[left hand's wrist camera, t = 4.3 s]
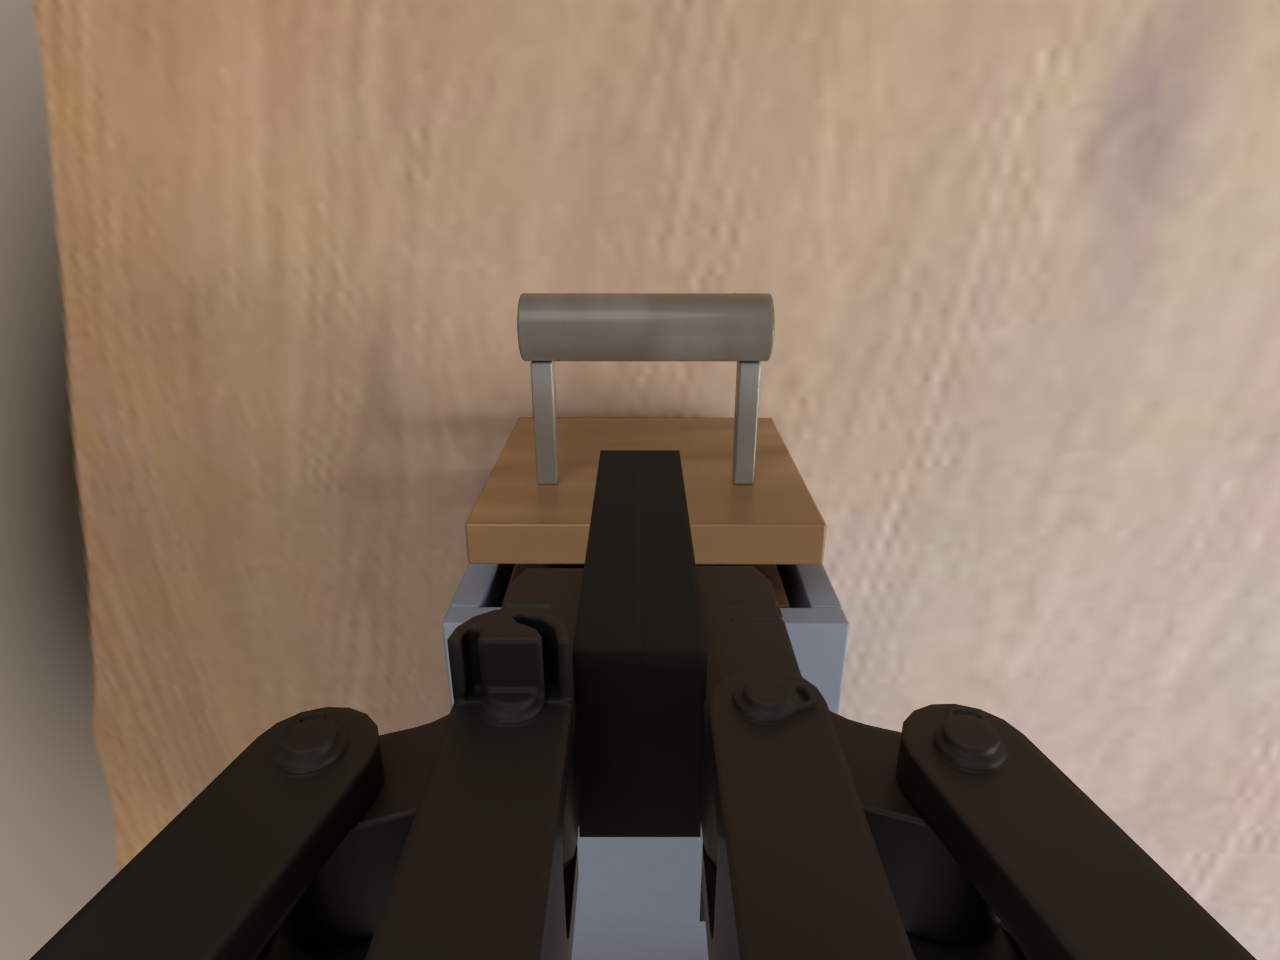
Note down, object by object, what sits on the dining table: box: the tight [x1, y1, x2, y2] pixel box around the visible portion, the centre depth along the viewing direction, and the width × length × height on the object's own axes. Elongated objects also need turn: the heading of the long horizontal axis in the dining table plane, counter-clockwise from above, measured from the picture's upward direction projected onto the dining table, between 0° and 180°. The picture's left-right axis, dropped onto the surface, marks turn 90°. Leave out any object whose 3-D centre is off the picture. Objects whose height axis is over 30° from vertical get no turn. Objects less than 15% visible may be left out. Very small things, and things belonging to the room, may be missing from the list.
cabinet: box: [442, 563, 849, 960], centre depth 28 cm, size 18×11×11 cm, turn 0°
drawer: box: [465, 294, 827, 608], centre depth 26 cm, size 22×9×9 cm, turn 0°
